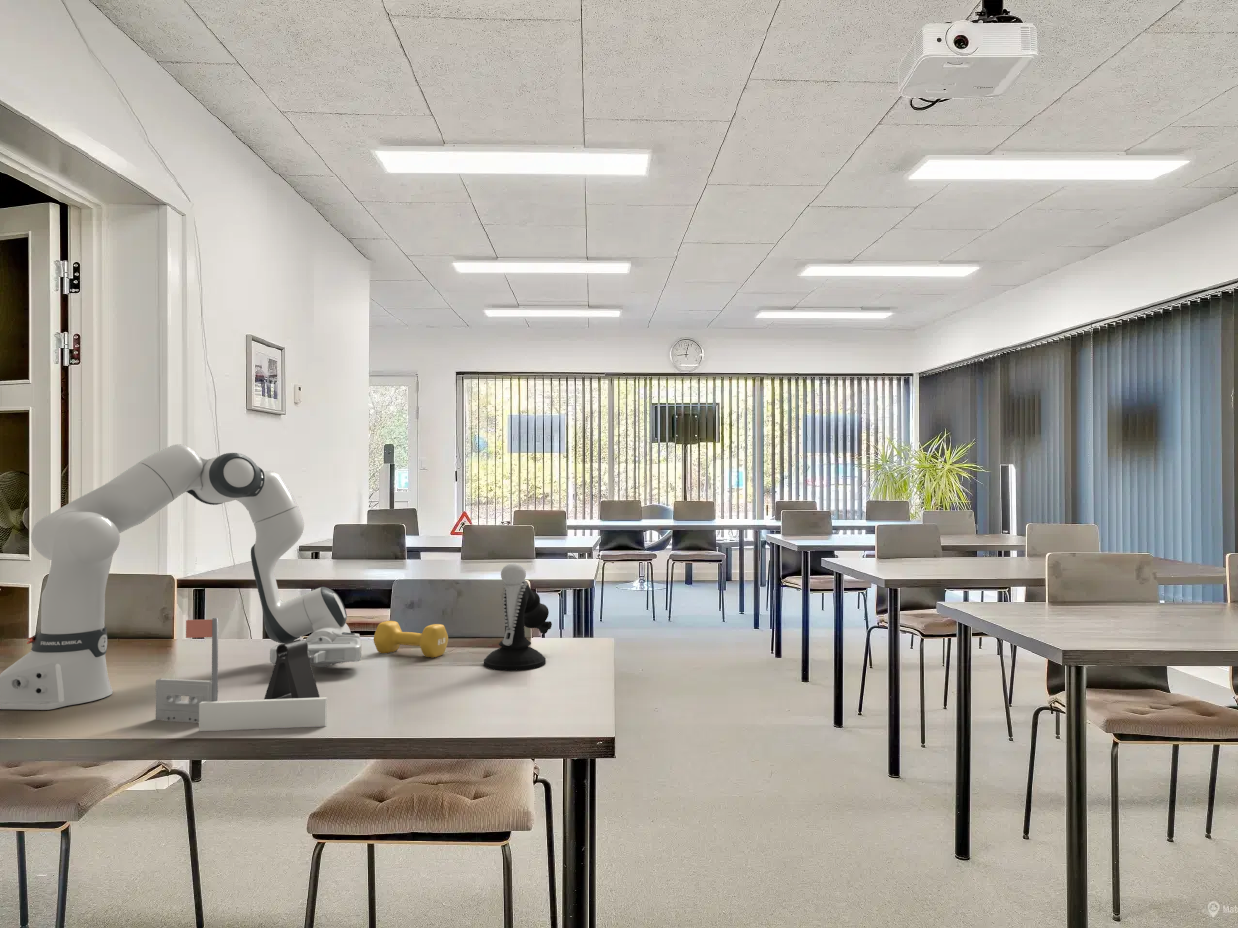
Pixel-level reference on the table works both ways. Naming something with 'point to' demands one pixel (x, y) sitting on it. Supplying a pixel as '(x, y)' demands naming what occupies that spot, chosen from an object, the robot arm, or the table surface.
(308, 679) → the phone stand
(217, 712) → the flag on white base
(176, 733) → the table surface
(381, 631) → the dumbbell
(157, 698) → the cassette
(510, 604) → the sculpture
